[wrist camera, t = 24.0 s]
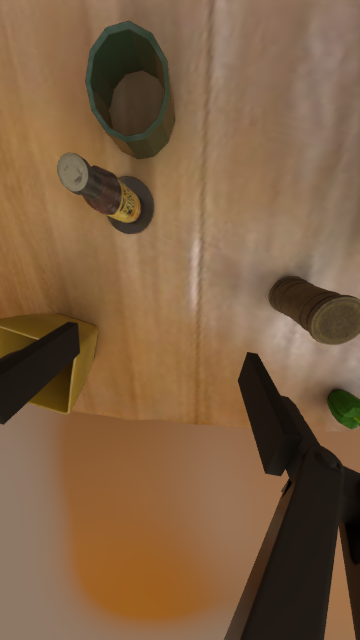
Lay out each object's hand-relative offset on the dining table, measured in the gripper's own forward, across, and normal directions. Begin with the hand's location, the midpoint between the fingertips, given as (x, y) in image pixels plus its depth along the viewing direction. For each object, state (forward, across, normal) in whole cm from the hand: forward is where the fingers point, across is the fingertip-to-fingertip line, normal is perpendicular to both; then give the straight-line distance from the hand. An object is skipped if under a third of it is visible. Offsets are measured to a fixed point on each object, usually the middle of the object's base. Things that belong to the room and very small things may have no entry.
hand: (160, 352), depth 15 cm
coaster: (+35, -15, +13) cm, 40 cm away
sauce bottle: (+34, -15, +13) cm, 40 cm away
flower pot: (+35, -30, -23) cm, 51 cm away
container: (+35, +26, 0) cm, 43 cm away
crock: (+35, -13, +29) cm, 47 cm away
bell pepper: (+35, +50, -28) cm, 67 cm away
